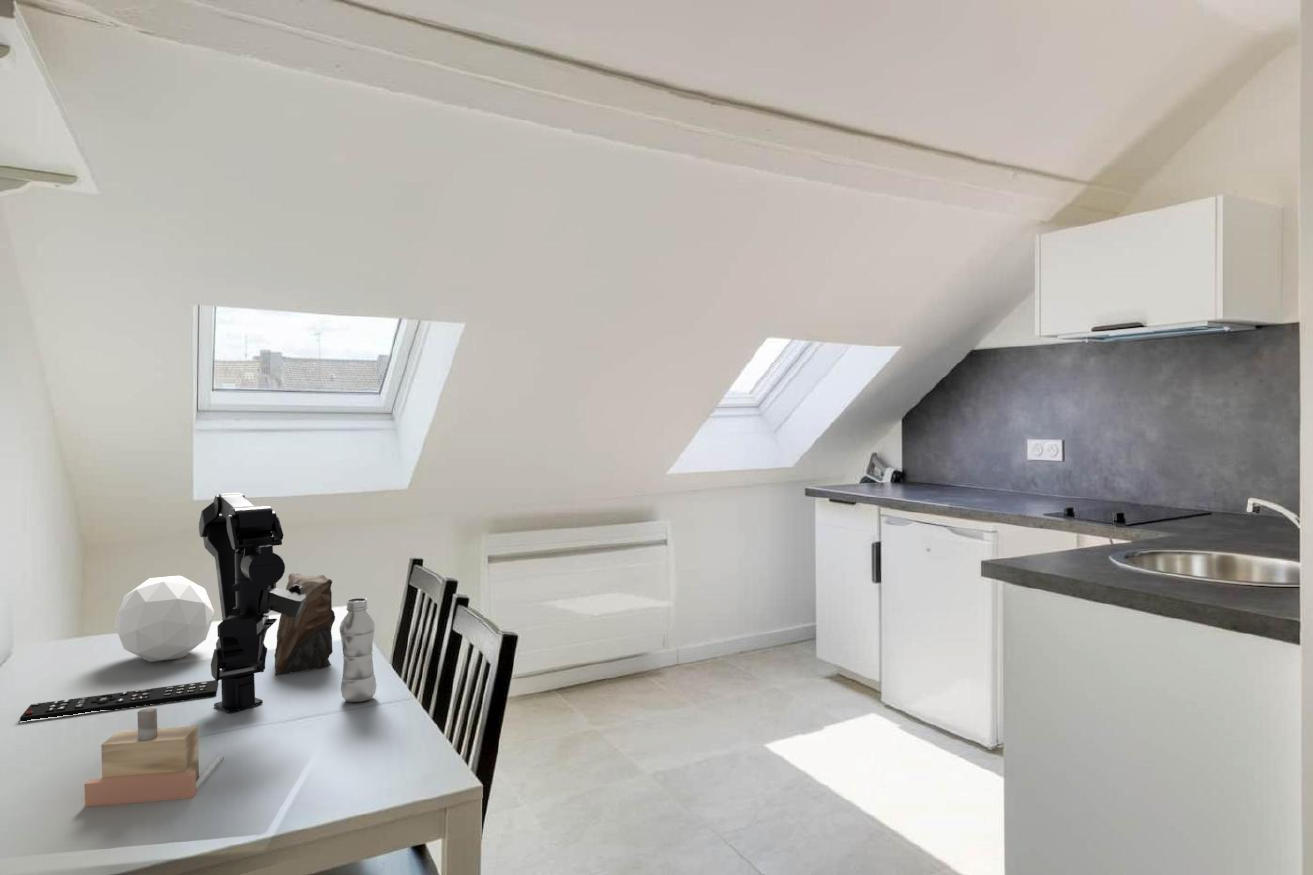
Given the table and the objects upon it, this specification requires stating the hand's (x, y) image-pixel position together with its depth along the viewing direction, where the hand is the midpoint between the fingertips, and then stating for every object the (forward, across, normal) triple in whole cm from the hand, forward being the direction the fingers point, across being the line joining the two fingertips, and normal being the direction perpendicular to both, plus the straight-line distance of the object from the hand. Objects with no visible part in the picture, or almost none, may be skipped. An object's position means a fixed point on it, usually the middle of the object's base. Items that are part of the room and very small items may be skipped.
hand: (255, 662), depth 143 cm
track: (+12, -22, +7) cm, 26 cm away
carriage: (+11, -25, +7) cm, 28 cm away
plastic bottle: (+12, +11, -16) cm, 23 cm away
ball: (+12, +48, +34) cm, 60 cm away
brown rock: (+12, +36, +2) cm, 38 cm away
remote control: (+13, +18, +30) cm, 37 cm away
